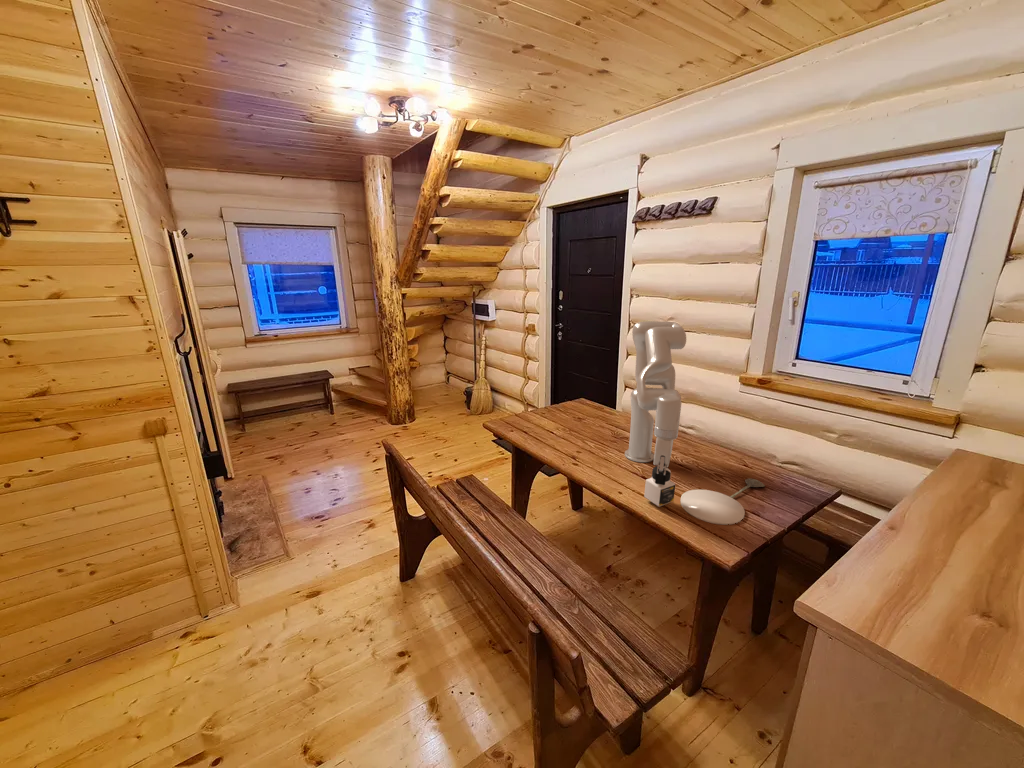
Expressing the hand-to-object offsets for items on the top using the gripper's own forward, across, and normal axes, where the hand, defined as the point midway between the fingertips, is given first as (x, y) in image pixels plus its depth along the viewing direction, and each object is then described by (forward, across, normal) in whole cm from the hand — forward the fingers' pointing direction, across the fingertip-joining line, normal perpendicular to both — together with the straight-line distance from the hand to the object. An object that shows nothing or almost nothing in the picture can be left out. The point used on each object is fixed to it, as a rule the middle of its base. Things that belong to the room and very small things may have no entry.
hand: (660, 478), depth 140 cm
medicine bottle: (+8, 0, 0) cm, 8 cm away
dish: (+10, -4, +17) cm, 20 cm away
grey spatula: (+10, -22, +29) cm, 38 cm away
